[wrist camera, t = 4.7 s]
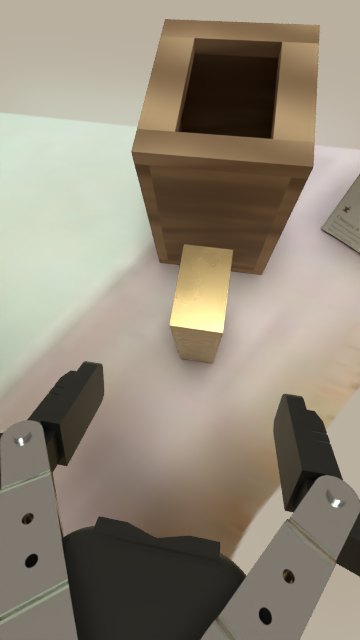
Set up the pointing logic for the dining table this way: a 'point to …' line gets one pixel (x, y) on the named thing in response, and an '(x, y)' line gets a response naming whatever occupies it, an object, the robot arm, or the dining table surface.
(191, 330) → the gold rectangular block
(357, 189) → the supplement box
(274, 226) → the brown wooden bin
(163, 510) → the dining table surface
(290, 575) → the robot arm
